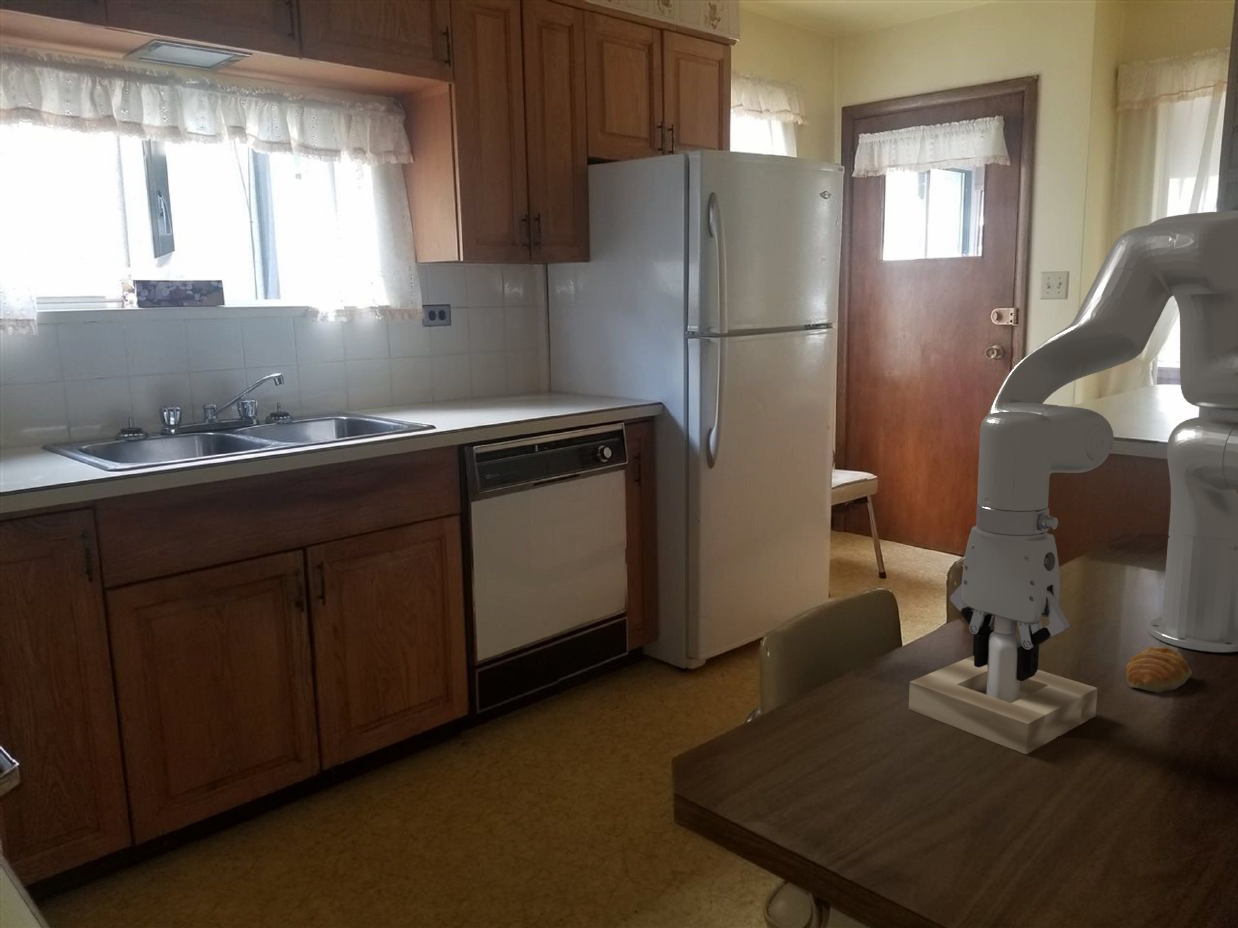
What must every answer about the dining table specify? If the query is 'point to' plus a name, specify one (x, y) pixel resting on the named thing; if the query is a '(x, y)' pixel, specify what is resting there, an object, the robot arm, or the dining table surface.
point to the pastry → (1157, 670)
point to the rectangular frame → (1003, 705)
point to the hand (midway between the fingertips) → (1004, 669)
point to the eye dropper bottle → (1003, 661)
